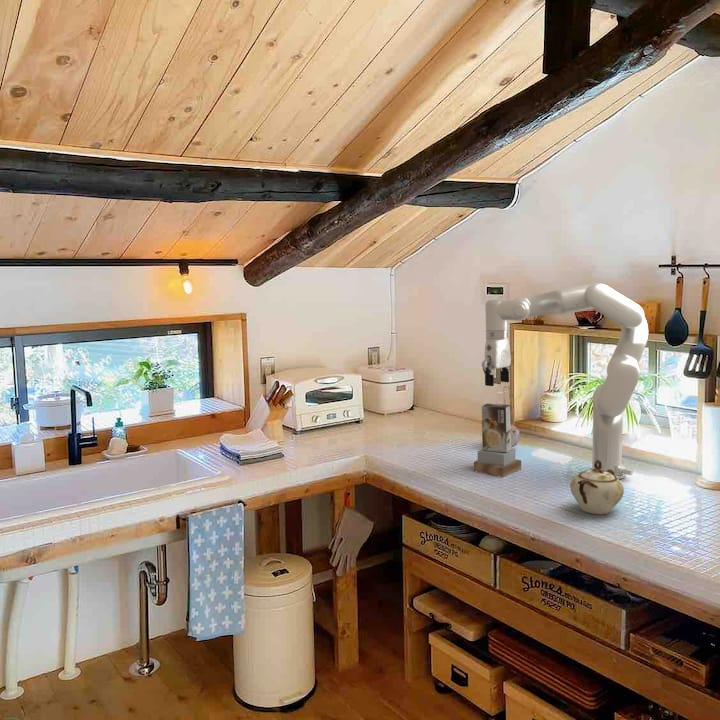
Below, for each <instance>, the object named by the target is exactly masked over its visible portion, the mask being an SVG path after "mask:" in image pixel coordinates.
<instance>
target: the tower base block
mask: <svg viewBox="0 0 720 720" xmlns="http://www.w3.org/2000/svg"><path fill="white" fill-rule="evenodd" d="M519 470H520V471H522V460H521V459H520V460H519V459H517V458H515V460H514V461H512V462H511V463H509V464H507V465H505V466H498V465H492V464H485V463H478V459H477V460H475V461H473V472H475V471H477V472H476V473H480V472H481V474H484V473H486V474H485V475H489V474H490V475H489V476H493V475H495V476H494V477H498V476H500V477H499V478H505V477H507V476H510V475H513V474H515V473H518V472H520V471H519ZM514 472H515V473H514ZM509 474H510V475H509ZM504 476H505V477H504Z"/></svg>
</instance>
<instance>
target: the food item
mask: <svg viewBox="0 0 720 720" xmlns="http://www.w3.org/2000/svg"><path fill="white" fill-rule="evenodd" d="M520 431H521V430H519V429H518V427H517V426H515V425H513V424H511V448H513V447H514V446H516V445H517V444H518V443H519V442H520V437H521V436H520Z"/></svg>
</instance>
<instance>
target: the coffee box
mask: <svg viewBox="0 0 720 720" xmlns="http://www.w3.org/2000/svg"><path fill="white" fill-rule="evenodd" d="M511 413H512V410H511V404H504V403H503V404H501V403H500V404H499V403H485V404H483V405H482V406H481V432H482V433H481V434H482V435H481V436H482V438H481V439H482V440H481V441H482V446H481V447H482V449H483V450H484V451H496V452H508V451H509V450H511V448H512V447H511V425H512V414H511Z"/></svg>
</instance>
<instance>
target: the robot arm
mask: <svg viewBox="0 0 720 720" xmlns="http://www.w3.org/2000/svg"><path fill="white" fill-rule="evenodd" d="M484 307H485V346H484V359H483V361H482V362H481V367H482V371H483V375H484V386H487V387H494V385H495V381H494V380H495V375H494V374H493V373H494V371H495V369H496V370H499V369H501V370H500V382H501V383H510V370H511V366H512V364H511V363H512V360H513V358H512V356H511V347H510V341H509V334H508V333H509V328H508V327H509V326H508V325H509V323H508V322H509V321H515V322H520V321H524V320H526V319H527V318H532V317H538V316H539V317H540V316H545V315H557V316H558V315H559V316H560V315H568V314H574V313H580V312H585V311H590V310H596V311H597V312H598V313H600V314H601V315H603V316H604V317H606V318H607V319H609V320H611V321H612V322H614V323H616V324H618V325H619V327H620V336H619V340H618V342H617V344H616V347H615V349H614V351H613V353H612V356H611V357H610V359H609V361H608V363H607V366H606V374H607V376H606V378H605V380H604V382H603V384H600V385H599V386H597V387H596V389H594V392H593V394H592V448H591V449H592V450H591V451H592V455H591V456H592V460H591V464H592V465H591V466H592V467H590V468H588V469H587V471H588V470H593V469H595V467H594V463H595V461H596V460H600V461H601V464H602V465H601V466H602V468H601V469H600V470H603V471H606V470H608V469H611V470H613V472H614V475H615V476H616V477H617V478H618V479H619V480H623V479H624V478H626V477H627V475H628V476H633V474H634V470H633V468H632V467H626V466H625V462H622V458H623V451H622V450H623V421H624V420H623V413H624V412H625V410H626V409H627V407H628V405H629V403H630V401H631V398H632V397H633V395H634V391H635V389H636V388H637V385H638V383H639V380H640V375H641V369H640V366H639V363H640V360H641V358H642V356H643V353H644V350H645V348H646V346H647V343H648V340H649V339H648V337H649V326H648V325H649V324H648V322H647V319H646V316H645V311H644V309H643V308H642V306H641V305H639V304H638V303H636V302H634V301H633V300H632V299H630V298H627V297H626V296H624V295H623V294H621V293H620V292H618V291H616V290H615V289H613V288H612V287H610V286H609V285H607V284H605V283H600V282H595V283H589V284H583V285H578V286H577V285H576V286H573V287H572V286H571V287H567V288H566V287H565V288H561V289H557V290H556V289H555V290H552V291H548V292H544V293H538V294H532V295H525V296H520V297H516V298H514V299H510V300H505V299H489V300H486V302H485V306H484ZM598 466H599V464H598V463H597V467H598Z"/></svg>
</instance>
